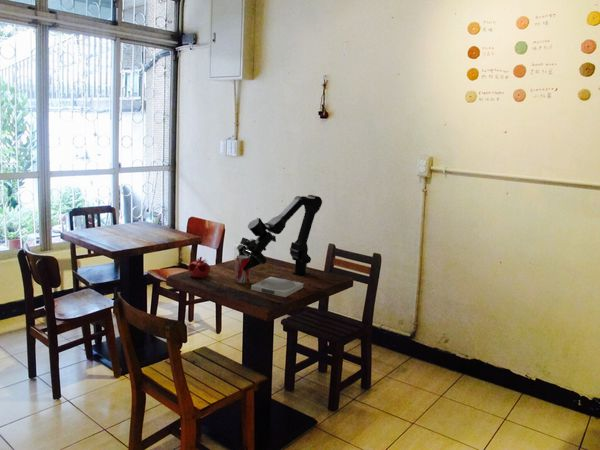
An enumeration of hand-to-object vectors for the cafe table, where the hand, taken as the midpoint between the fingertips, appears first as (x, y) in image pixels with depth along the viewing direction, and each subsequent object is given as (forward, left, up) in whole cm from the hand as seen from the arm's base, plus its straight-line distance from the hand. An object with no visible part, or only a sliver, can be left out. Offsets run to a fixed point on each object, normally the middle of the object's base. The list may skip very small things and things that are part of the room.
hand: (239, 268), depth 238 cm
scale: (-2, +19, -7) cm, 20 cm away
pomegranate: (+3, -20, -7) cm, 22 cm away
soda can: (-1, +1, -7) cm, 7 cm away
